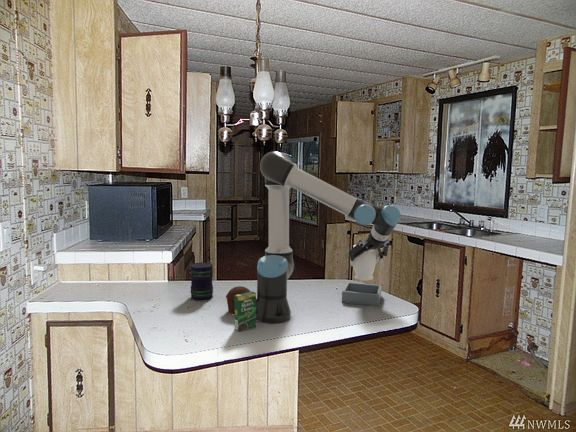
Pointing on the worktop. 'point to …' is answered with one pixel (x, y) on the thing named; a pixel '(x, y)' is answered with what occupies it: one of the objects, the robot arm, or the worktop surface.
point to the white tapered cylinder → (365, 265)
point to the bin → (361, 294)
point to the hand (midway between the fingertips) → (362, 263)
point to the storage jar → (201, 281)
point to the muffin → (231, 296)
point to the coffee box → (245, 311)
